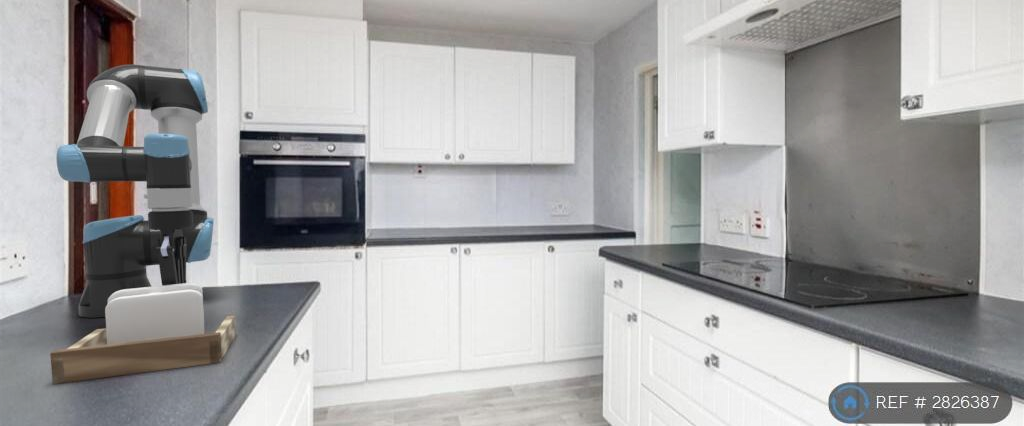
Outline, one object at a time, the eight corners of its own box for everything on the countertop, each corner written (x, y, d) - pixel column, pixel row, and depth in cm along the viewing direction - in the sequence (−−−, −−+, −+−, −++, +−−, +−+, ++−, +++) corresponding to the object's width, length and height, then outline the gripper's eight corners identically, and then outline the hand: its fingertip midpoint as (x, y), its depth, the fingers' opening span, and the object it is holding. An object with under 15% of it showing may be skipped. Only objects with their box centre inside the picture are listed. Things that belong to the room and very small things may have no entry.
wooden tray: (97, 349, 90) (96, 324, 90) (235, 334, 99) (234, 311, 99) (52, 384, 75) (50, 353, 75) (220, 362, 84) (218, 334, 83)
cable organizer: (101, 367, 82) (97, 301, 81) (112, 348, 91) (108, 289, 90) (205, 350, 90) (202, 289, 89) (205, 334, 99) (203, 280, 98)
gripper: (158, 208, 102) (164, 316, 104) (137, 211, 90) (144, 333, 92) (199, 207, 105) (204, 312, 106) (183, 210, 93) (190, 328, 95)
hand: (176, 321), depth 99 cm, fingers closed
